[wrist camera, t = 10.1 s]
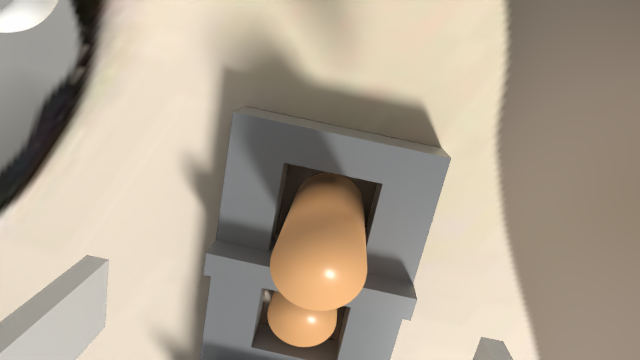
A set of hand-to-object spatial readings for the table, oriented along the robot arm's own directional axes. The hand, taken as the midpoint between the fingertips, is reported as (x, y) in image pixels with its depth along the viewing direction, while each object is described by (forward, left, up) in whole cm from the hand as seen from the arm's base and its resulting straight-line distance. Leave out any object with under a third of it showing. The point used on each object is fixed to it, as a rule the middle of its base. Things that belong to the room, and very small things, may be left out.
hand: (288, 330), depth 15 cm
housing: (0, -3, -13) cm, 13 cm away
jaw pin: (+1, 0, -13) cm, 13 cm away
